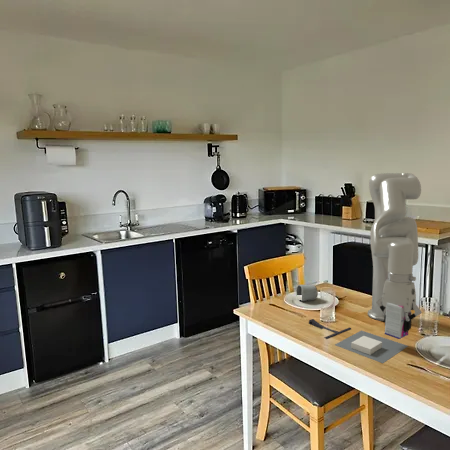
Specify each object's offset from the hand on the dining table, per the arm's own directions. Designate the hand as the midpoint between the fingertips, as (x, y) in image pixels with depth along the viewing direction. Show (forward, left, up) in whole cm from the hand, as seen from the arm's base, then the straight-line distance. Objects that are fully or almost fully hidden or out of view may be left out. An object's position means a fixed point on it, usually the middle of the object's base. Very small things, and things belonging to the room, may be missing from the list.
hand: (397, 327), depth 139 cm
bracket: (+5, -26, -8) cm, 28 cm away
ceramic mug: (-18, -53, -8) cm, 56 cm away
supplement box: (0, 0, -3) cm, 3 cm away
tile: (+5, -6, -6) cm, 10 cm away
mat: (+6, -6, -7) cm, 11 cm away
